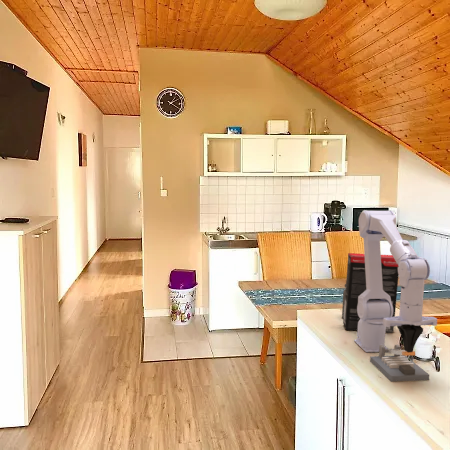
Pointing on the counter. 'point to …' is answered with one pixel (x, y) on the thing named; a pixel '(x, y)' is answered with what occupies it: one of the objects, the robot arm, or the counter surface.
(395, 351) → the orange-ended grey bar
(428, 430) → the counter surface
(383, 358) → the heatsink base
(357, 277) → the graphics card box
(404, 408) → the counter surface
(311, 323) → the counter surface
